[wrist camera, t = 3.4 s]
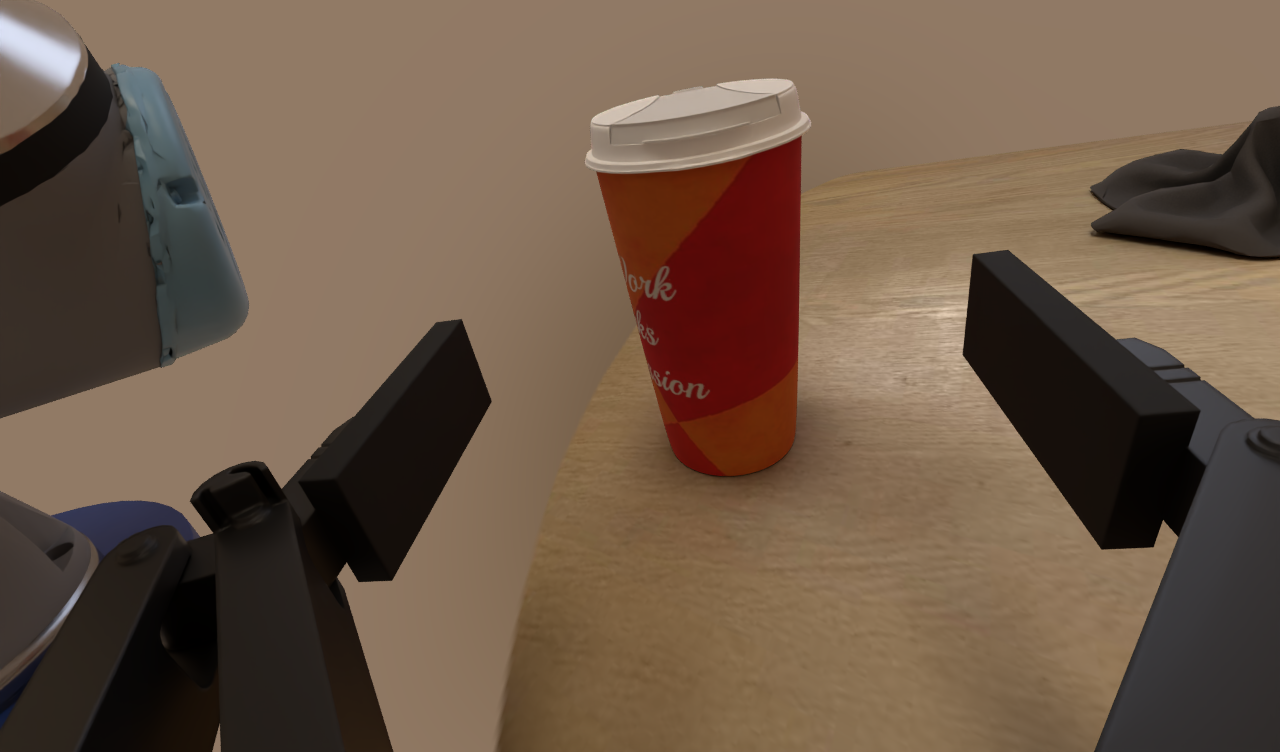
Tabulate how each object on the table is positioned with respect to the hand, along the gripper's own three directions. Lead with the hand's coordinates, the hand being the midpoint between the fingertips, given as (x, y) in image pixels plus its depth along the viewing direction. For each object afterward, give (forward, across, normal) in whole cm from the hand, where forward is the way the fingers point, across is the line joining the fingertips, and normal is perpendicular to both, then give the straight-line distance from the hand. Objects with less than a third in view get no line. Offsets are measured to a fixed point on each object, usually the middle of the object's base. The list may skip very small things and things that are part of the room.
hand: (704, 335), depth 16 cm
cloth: (+29, +36, -11) cm, 48 cm away
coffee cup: (+9, 0, -10) cm, 14 cm away
